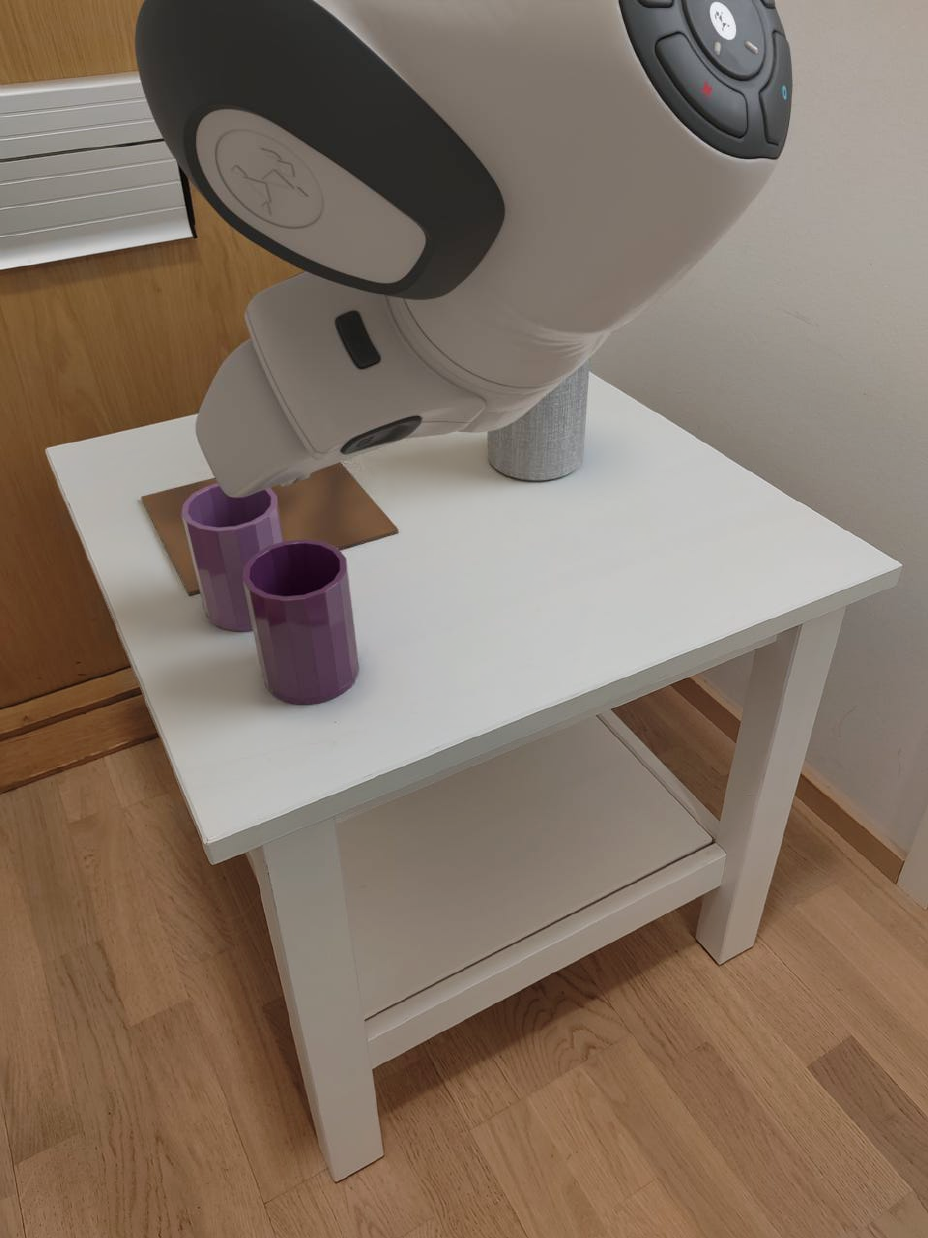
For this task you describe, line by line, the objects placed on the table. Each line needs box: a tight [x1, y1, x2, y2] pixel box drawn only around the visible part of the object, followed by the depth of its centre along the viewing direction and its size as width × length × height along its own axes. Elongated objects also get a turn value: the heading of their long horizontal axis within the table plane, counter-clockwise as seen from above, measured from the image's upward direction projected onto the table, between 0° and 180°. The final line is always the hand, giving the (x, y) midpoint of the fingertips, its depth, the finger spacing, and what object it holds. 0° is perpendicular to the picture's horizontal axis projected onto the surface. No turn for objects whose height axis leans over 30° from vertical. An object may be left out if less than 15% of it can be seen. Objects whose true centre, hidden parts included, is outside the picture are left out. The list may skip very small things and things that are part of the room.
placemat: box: [140, 462, 399, 596], centre depth 92 cm, size 20×18×1 cm
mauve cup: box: [181, 483, 284, 632], centre depth 78 cm, size 7×7×10 cm
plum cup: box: [242, 539, 360, 706], centre depth 72 cm, size 7×7×10 cm
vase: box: [487, 357, 591, 482], centre depth 92 cm, size 10×10×27 cm
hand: (364, 441), depth 51 cm, fingers open, 8 cm apart
